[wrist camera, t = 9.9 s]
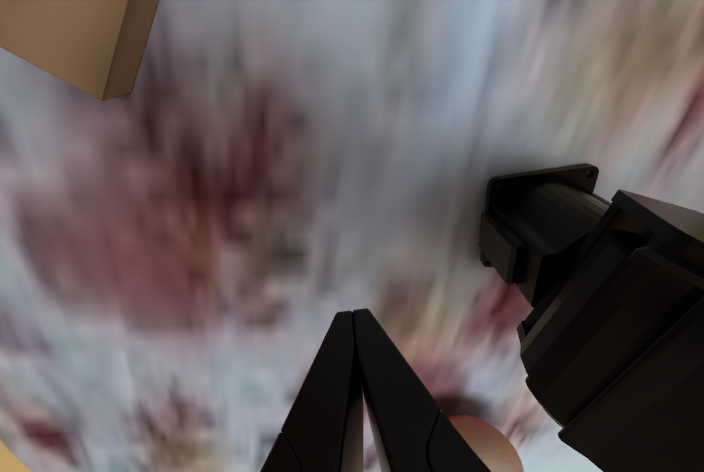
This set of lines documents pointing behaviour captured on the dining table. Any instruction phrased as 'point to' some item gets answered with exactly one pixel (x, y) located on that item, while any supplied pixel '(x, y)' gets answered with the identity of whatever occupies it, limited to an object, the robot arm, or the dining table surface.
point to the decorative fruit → (488, 443)
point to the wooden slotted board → (80, 40)
